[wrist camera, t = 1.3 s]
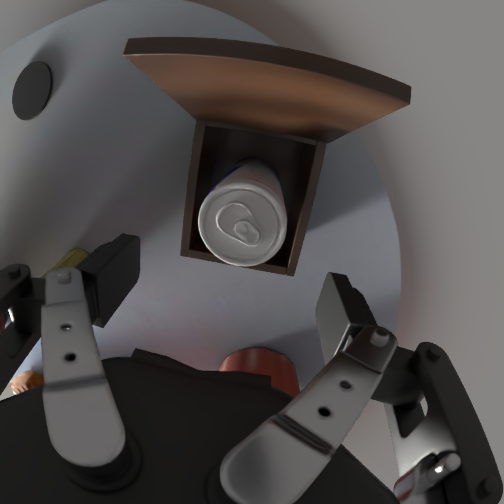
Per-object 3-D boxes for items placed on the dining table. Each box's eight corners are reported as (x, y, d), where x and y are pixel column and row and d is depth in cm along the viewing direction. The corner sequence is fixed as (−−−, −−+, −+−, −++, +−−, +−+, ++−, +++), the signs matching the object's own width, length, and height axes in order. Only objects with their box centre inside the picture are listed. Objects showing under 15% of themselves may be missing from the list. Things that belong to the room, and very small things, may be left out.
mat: (19, 66, 25) (17, 66, 25) (57, 57, 25) (55, 57, 25) (11, 121, 29) (9, 122, 28) (48, 118, 29) (45, 118, 29)
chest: (288, 241, 35) (293, 276, 27) (200, 225, 34) (180, 255, 26) (311, 136, 30) (327, 138, 22) (216, 118, 29) (197, 115, 21)
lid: (410, 104, 8) (412, 86, 8) (121, 55, 8) (127, 37, 8) (328, 143, 21) (329, 134, 21) (195, 119, 21) (197, 110, 21)
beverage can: (232, 153, 30) (201, 173, 16) (283, 162, 30) (297, 190, 17) (224, 202, 32) (191, 259, 19) (273, 211, 32) (277, 275, 19)
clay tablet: (44, 357, 48) (27, 381, 41) (94, 408, 54) (82, 433, 47) (14, 370, 53) (0, 389, 46) (55, 412, 59) (44, 432, 52)
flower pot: (229, 318, 40) (211, 413, 25) (329, 354, 42) (346, 443, 27) (194, 384, 46) (174, 462, 31) (279, 410, 48) (279, 486, 33)
